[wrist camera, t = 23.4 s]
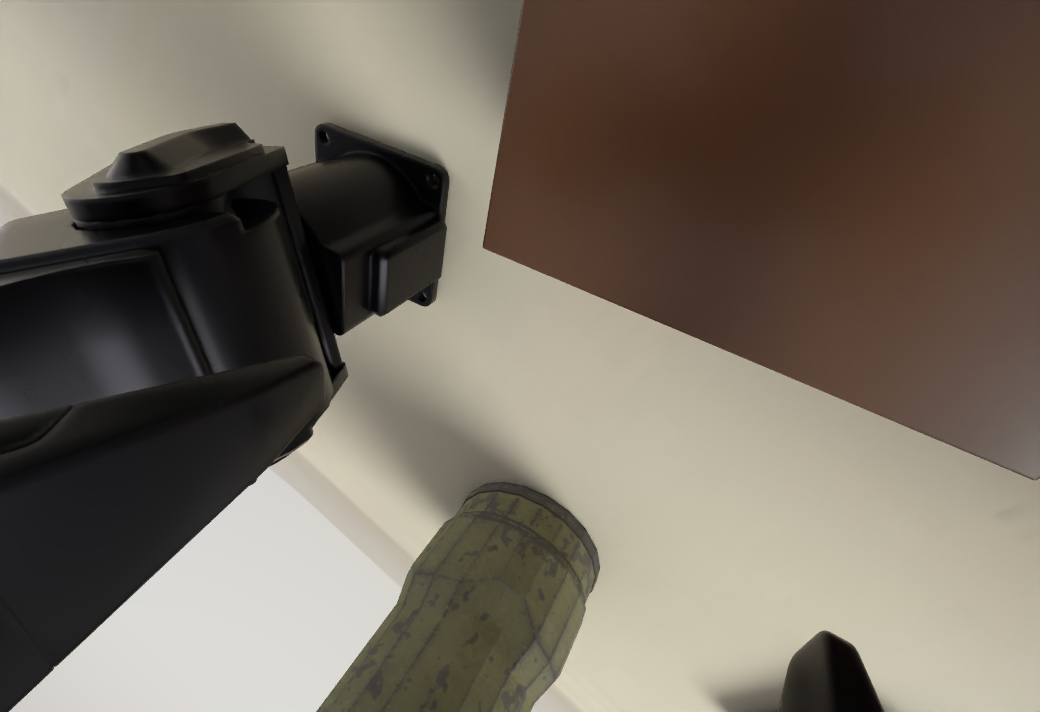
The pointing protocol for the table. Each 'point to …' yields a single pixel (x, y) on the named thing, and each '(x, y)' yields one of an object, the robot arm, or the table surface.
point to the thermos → (479, 612)
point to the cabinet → (798, 191)
